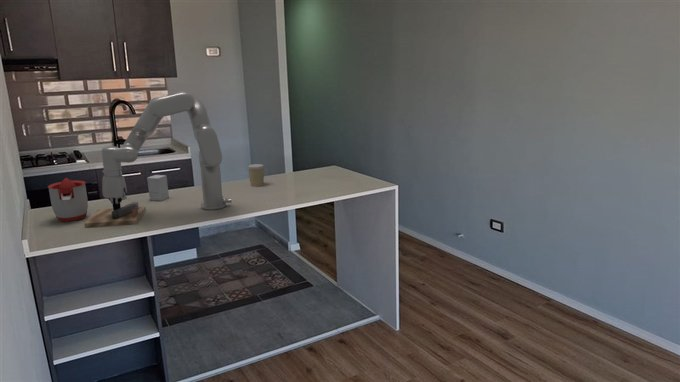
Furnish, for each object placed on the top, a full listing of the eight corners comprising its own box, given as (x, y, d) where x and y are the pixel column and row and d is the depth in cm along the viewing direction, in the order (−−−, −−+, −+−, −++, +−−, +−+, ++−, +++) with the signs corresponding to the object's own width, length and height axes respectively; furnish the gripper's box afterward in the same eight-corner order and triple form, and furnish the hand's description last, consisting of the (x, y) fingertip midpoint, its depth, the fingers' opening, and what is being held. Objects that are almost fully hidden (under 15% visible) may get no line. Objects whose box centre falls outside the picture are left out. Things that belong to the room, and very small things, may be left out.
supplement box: (169, 197, 263) (167, 175, 260) (160, 201, 256) (157, 178, 253) (158, 196, 266) (155, 174, 262) (149, 200, 259) (146, 177, 255)
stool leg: (134, 207, 237) (133, 201, 236) (140, 207, 237) (139, 202, 236) (110, 218, 221) (109, 212, 220) (116, 218, 220) (115, 212, 219)
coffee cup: (268, 184, 290) (267, 164, 287) (257, 187, 282) (256, 167, 279) (256, 182, 295) (255, 163, 292) (246, 185, 287) (244, 166, 284)
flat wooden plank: (146, 210, 240) (144, 199, 239) (136, 224, 220) (135, 212, 218) (99, 213, 237) (97, 202, 235) (84, 227, 216) (83, 216, 214)
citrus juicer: (51, 226, 217) (43, 184, 212) (55, 216, 233) (48, 176, 228) (89, 222, 223) (83, 180, 218) (91, 212, 239) (85, 172, 234)
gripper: (93, 174, 220) (97, 212, 225) (122, 175, 218) (126, 214, 222) (104, 170, 228) (108, 207, 232) (132, 172, 225) (136, 209, 229)
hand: (117, 210), depth 227 cm, fingers closed
